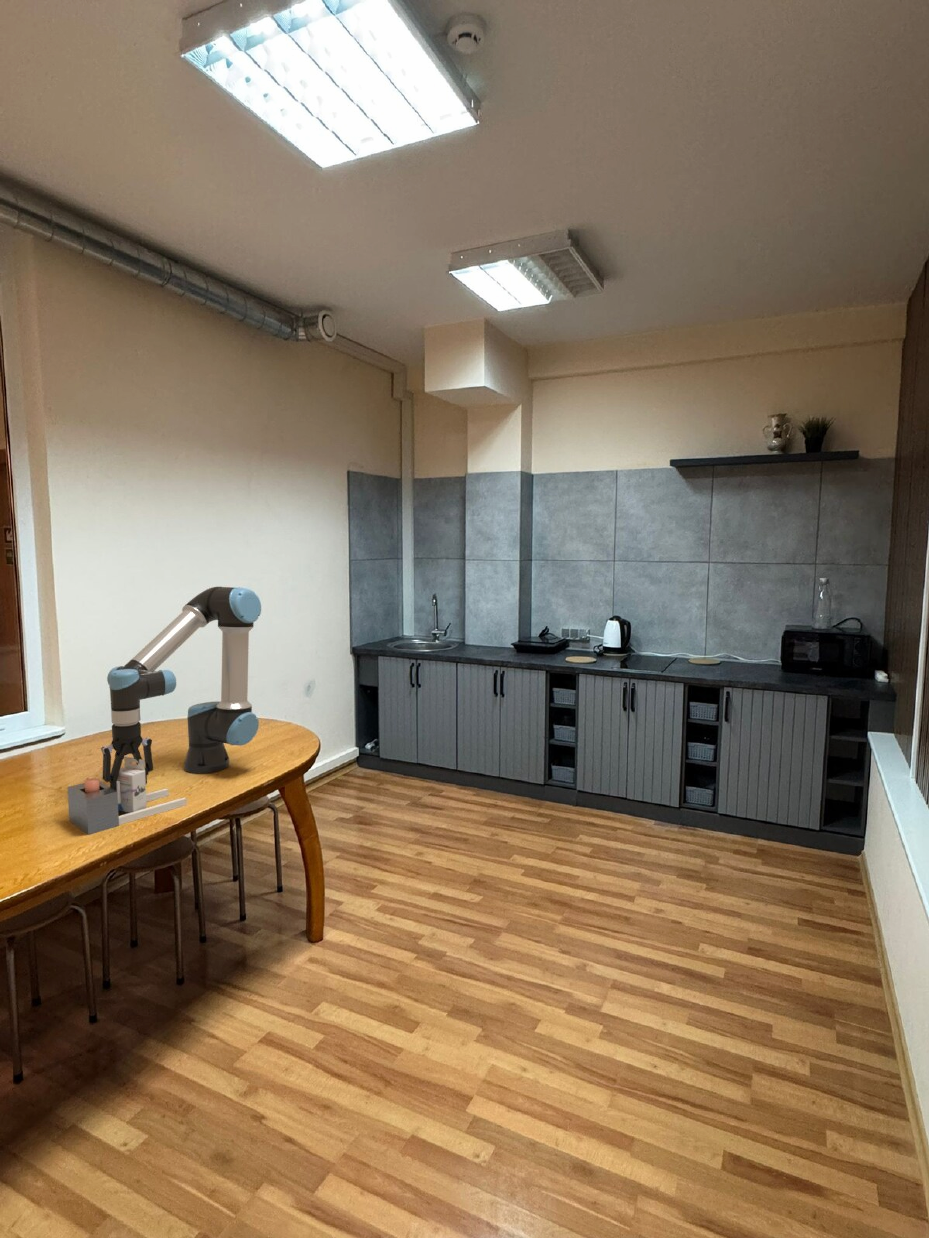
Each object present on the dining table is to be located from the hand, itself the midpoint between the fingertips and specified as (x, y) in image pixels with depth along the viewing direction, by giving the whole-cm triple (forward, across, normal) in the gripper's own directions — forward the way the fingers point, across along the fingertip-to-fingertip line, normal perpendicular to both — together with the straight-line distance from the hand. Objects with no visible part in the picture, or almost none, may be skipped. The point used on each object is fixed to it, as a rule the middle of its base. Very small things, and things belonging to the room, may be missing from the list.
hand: (129, 798), depth 197 cm
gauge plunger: (-3, +10, 0) cm, 11 cm away
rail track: (+4, -4, 0) cm, 6 cm away
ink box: (+3, 0, 0) cm, 3 cm away
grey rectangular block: (+4, +10, 0) cm, 11 cm away
